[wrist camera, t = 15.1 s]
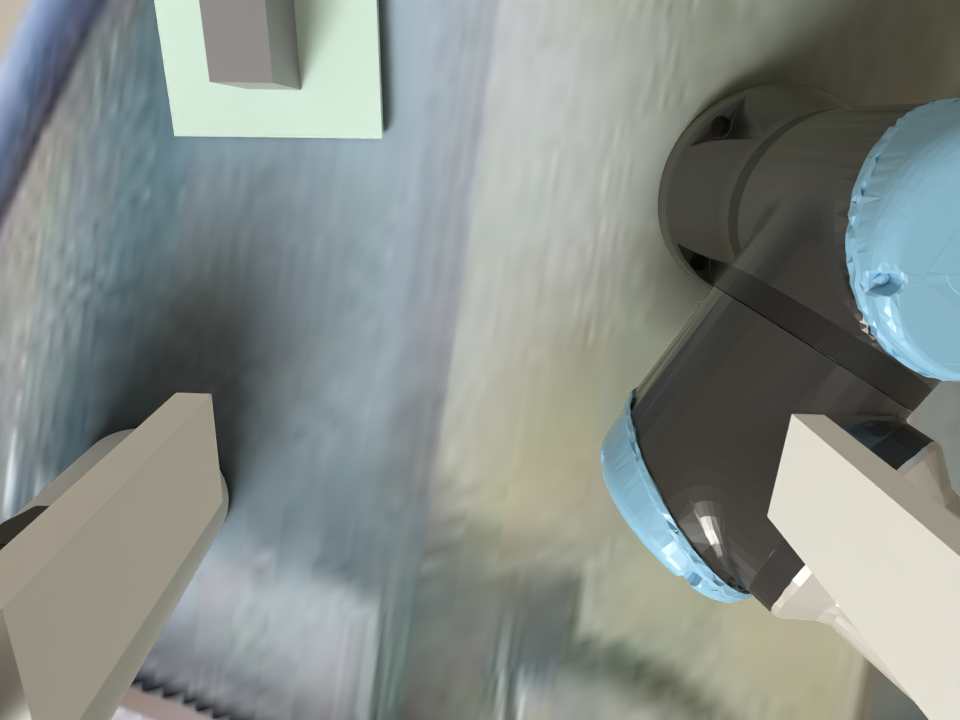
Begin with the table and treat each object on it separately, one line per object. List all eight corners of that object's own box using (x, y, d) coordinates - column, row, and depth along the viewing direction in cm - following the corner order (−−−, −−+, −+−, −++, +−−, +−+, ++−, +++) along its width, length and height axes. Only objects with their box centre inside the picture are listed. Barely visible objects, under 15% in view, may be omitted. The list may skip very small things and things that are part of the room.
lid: (375, -95, 40) (355, -154, 31) (385, 138, 45) (369, 140, 36) (152, -101, 39) (70, -163, 31) (186, 135, 44) (123, 137, 36)
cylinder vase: (156, 396, 51) (-98, 627, 27) (262, 501, 55) (119, 782, 31) (49, 477, 53) (-270, 755, 29) (158, 572, 57) (-47, 885, 33)
